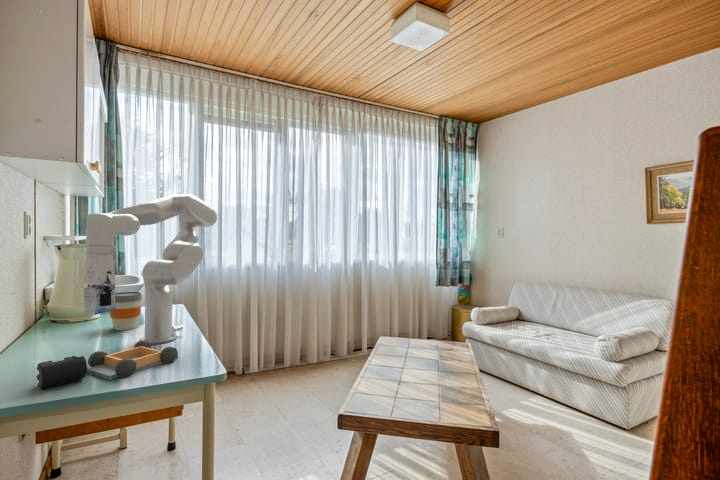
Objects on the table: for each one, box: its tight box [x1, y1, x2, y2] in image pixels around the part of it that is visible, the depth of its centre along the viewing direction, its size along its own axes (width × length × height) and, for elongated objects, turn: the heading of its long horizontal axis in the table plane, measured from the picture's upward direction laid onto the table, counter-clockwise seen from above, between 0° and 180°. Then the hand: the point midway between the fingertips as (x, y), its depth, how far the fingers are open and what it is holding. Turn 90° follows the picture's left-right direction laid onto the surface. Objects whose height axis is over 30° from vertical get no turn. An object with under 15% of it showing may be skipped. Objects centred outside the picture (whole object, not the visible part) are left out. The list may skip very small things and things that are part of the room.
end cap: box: [36, 355, 88, 390], centre depth 105 cm, size 10×7×7 cm
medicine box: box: [83, 285, 116, 316], centre depth 125 cm, size 8×4×9 cm, turn 167°
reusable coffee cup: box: [109, 291, 143, 331], centre depth 167 cm, size 13×13×15 cm
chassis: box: [86, 340, 179, 381], centre depth 120 cm, size 22×16×5 cm
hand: (100, 304), depth 126 cm, fingers closed on medicine box, 5 cm apart
